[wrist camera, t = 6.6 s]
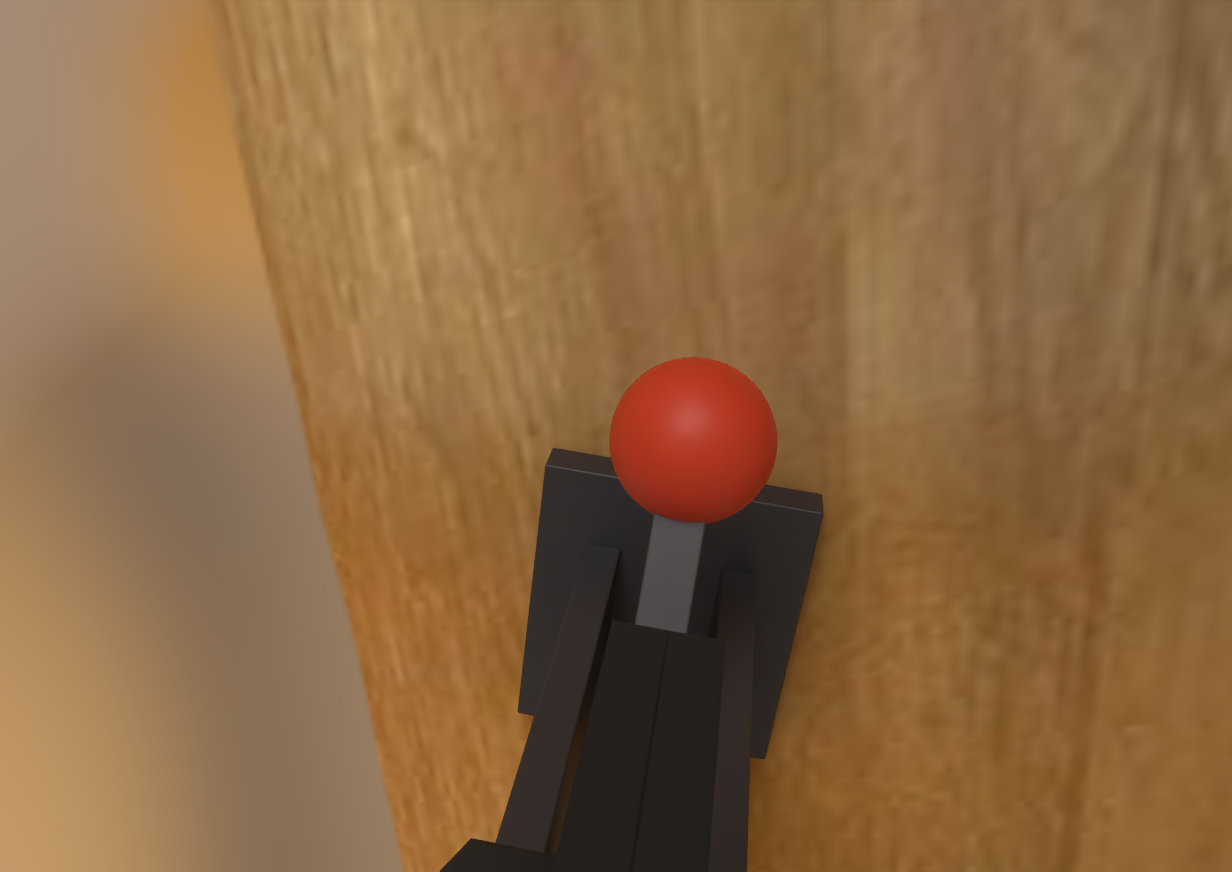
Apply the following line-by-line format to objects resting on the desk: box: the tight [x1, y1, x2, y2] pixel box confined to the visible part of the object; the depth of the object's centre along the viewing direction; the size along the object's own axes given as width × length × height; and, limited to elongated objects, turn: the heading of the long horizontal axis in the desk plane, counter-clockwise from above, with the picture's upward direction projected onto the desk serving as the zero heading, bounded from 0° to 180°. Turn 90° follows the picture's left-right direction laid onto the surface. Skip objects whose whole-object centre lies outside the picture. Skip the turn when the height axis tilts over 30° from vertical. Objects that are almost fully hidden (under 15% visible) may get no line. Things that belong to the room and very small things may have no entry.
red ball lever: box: [610, 357, 777, 634], centre depth 24 cm, size 13×4×4 cm
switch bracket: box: [496, 448, 823, 872], centre depth 28 cm, size 9×8×14 cm
